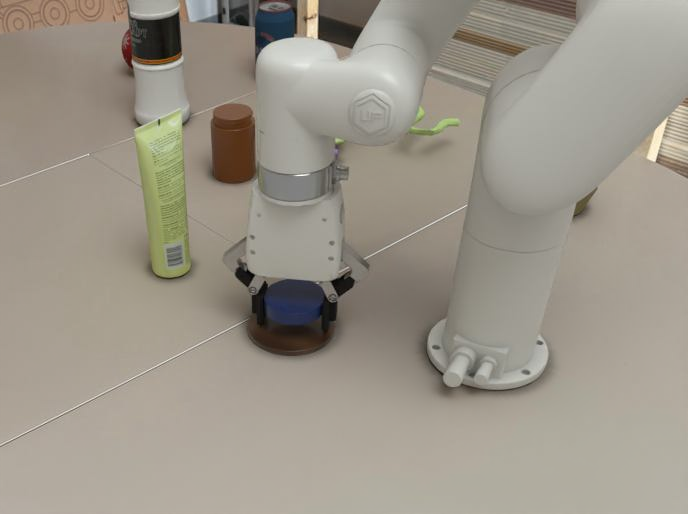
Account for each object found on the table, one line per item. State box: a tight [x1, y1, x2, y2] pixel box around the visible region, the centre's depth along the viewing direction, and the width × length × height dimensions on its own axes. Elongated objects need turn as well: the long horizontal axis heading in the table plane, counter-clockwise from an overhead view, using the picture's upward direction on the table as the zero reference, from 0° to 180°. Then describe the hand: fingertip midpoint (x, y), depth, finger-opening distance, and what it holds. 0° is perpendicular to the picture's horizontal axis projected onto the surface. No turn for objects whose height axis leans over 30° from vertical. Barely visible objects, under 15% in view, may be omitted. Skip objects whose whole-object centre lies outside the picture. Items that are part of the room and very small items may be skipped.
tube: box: [133, 108, 192, 279], centre depth 98 cm, size 6×5×20 cm
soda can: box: [254, 0, 296, 72], centre depth 145 cm, size 7×7×12 cm
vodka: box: [125, 0, 191, 126], centre depth 128 cm, size 9×9×30 cm
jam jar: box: [209, 102, 257, 184], centre depth 120 cm, size 6×6×9 cm
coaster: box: [247, 312, 336, 356], centre depth 94 cm, size 10×10×1 cm
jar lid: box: [264, 279, 325, 325], centre depth 92 cm, size 7×7×2 cm
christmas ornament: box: [121, 28, 133, 70], centre depth 150 cm, size 9×9×10 cm
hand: (294, 319), depth 94 cm, fingers closed on jar lid, 6 cm apart
